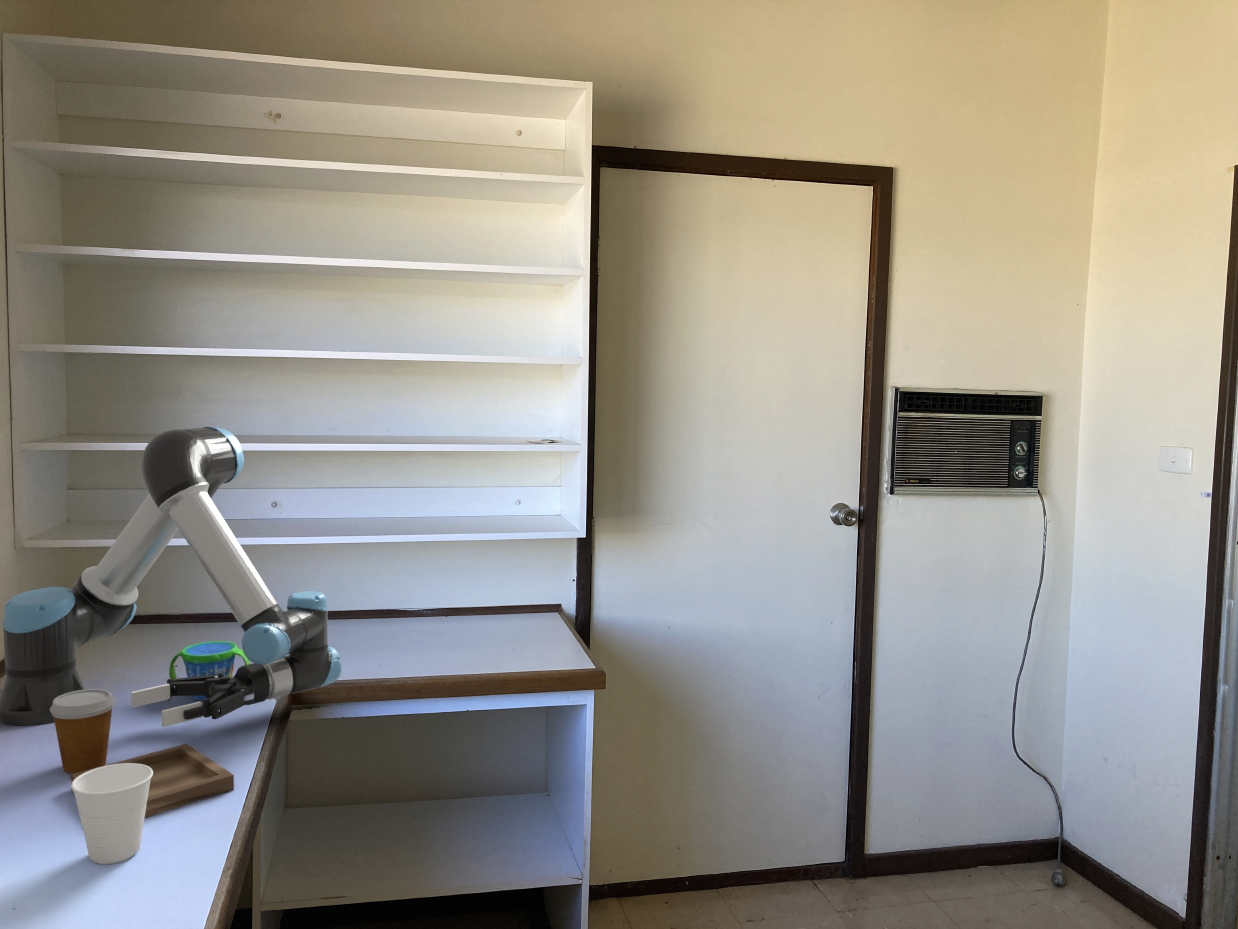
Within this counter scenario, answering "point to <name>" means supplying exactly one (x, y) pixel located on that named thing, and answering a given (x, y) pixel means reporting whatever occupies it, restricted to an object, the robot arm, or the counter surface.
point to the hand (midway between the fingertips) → (146, 709)
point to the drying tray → (179, 778)
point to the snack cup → (208, 660)
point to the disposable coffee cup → (83, 728)
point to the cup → (113, 809)
